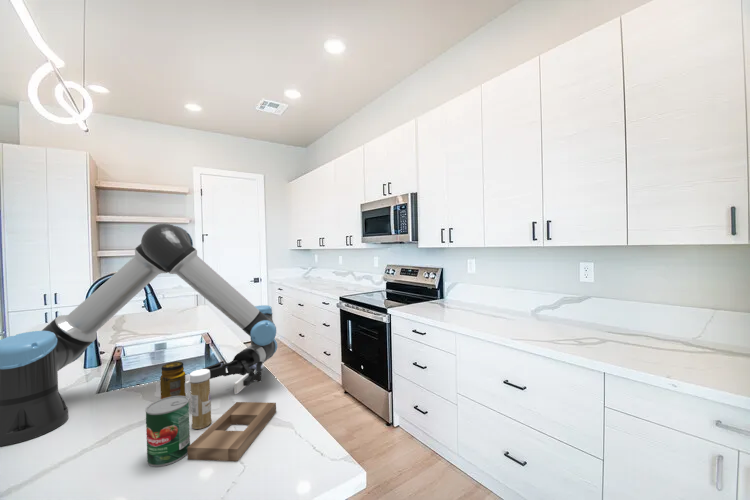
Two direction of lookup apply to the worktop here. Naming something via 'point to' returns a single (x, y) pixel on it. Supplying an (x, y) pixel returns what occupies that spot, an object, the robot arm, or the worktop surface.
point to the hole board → (232, 432)
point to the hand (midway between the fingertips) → (210, 388)
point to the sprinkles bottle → (200, 398)
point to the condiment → (172, 380)
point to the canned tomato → (167, 430)
